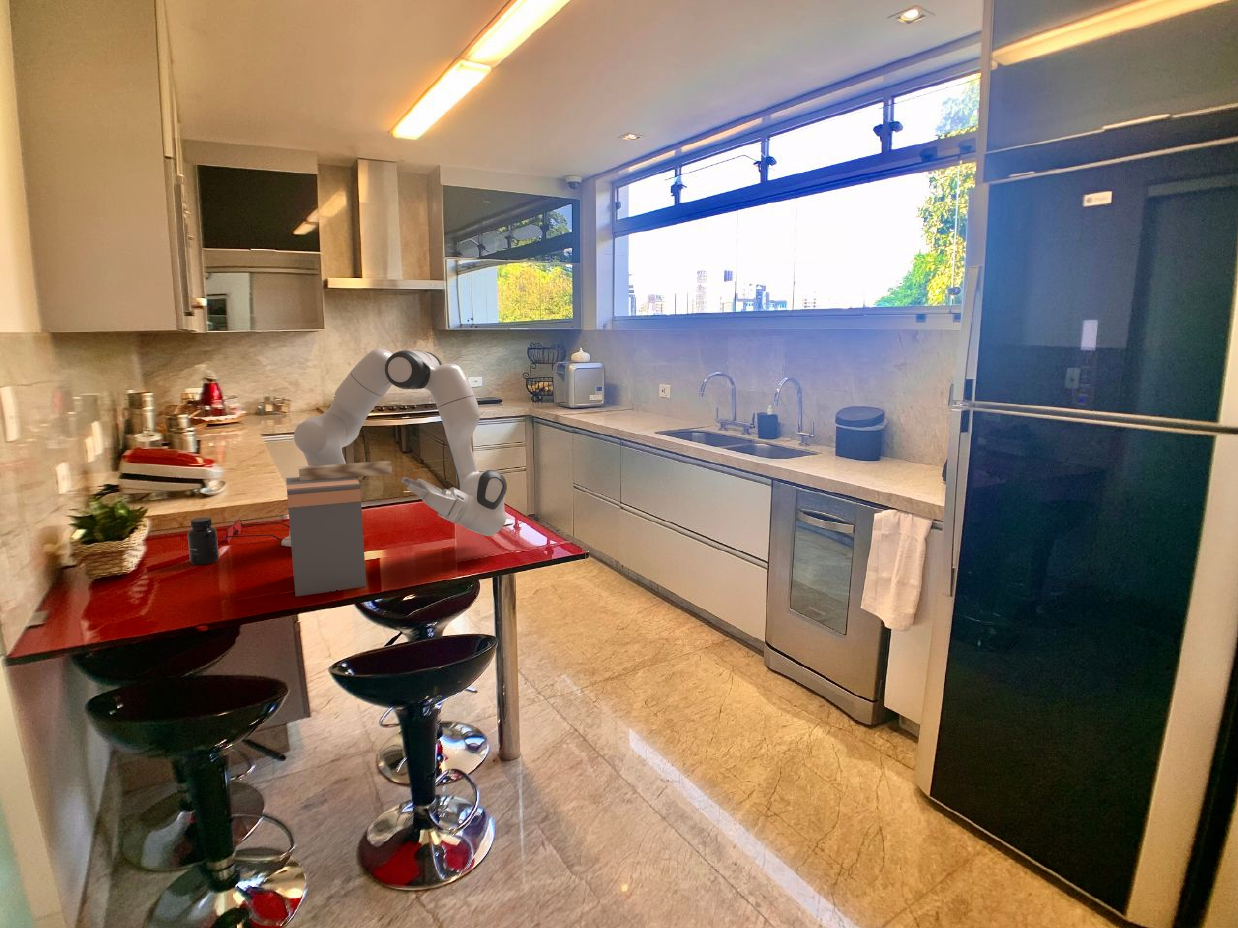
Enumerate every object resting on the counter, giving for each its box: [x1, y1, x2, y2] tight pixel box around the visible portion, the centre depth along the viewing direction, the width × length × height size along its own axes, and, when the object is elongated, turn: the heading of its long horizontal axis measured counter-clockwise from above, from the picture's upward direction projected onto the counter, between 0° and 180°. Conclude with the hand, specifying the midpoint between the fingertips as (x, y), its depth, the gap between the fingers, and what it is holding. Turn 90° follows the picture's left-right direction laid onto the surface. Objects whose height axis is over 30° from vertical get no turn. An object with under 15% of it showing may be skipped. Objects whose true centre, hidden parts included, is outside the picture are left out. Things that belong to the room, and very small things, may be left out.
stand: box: [285, 476, 367, 597], centre depth 170 cm, size 16×16×26 cm
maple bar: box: [298, 460, 393, 481], centre depth 174 cm, size 22×3×3 cm, turn 117°
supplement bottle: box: [187, 516, 220, 566], centre depth 185 cm, size 7×7×12 cm
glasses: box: [223, 519, 290, 544], centre depth 209 cm, size 14×16×5 cm
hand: (405, 483), depth 181 cm, fingers open, 8 cm apart
